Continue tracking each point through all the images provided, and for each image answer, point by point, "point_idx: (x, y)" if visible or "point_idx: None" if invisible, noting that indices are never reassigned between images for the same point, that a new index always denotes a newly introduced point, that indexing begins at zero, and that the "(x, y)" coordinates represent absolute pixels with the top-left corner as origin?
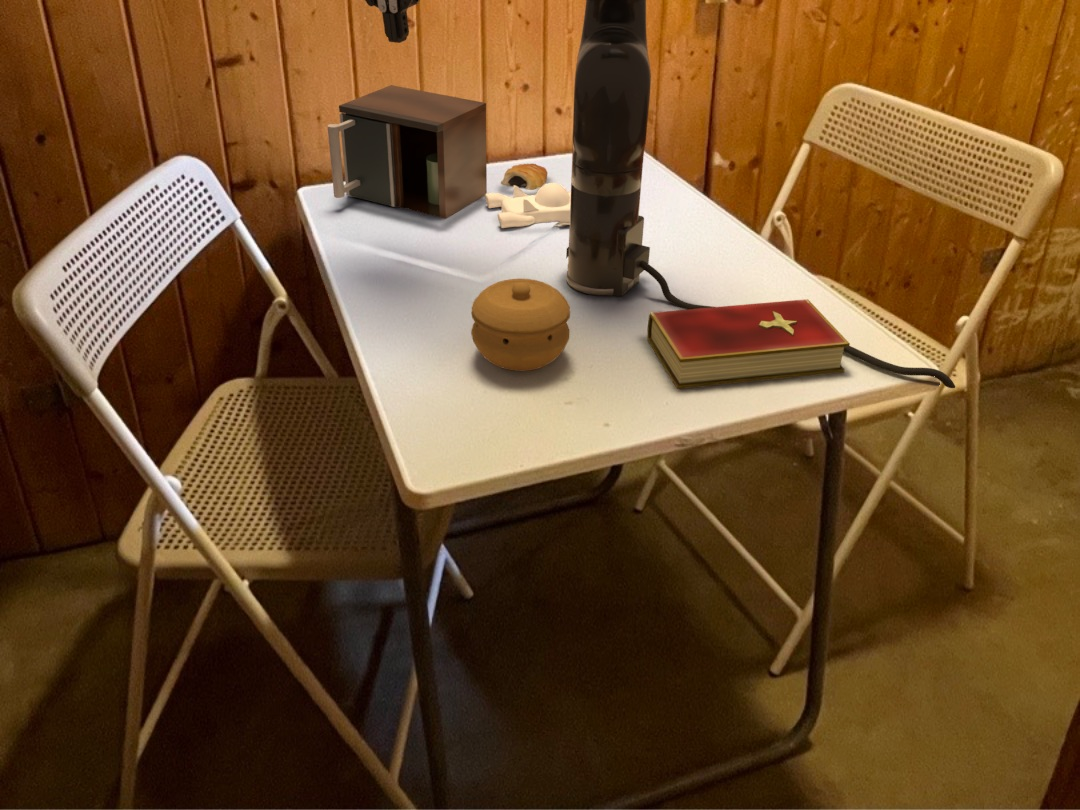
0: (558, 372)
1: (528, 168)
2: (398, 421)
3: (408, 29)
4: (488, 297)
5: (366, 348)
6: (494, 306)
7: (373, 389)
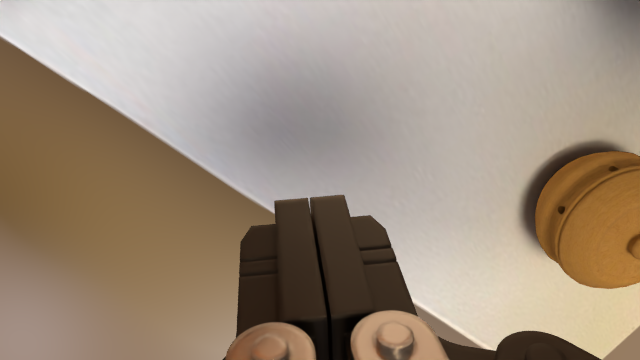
0: None
1: None
2: None
3: (388, 239)
4: (601, 276)
5: None
6: (614, 285)
7: (453, 327)
